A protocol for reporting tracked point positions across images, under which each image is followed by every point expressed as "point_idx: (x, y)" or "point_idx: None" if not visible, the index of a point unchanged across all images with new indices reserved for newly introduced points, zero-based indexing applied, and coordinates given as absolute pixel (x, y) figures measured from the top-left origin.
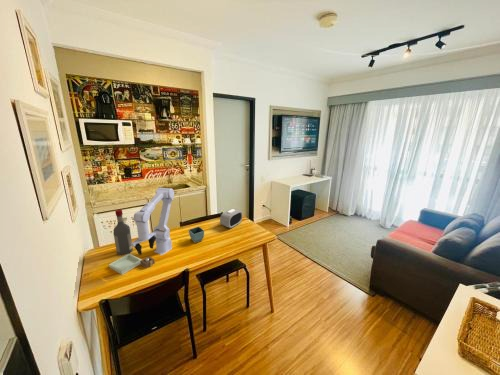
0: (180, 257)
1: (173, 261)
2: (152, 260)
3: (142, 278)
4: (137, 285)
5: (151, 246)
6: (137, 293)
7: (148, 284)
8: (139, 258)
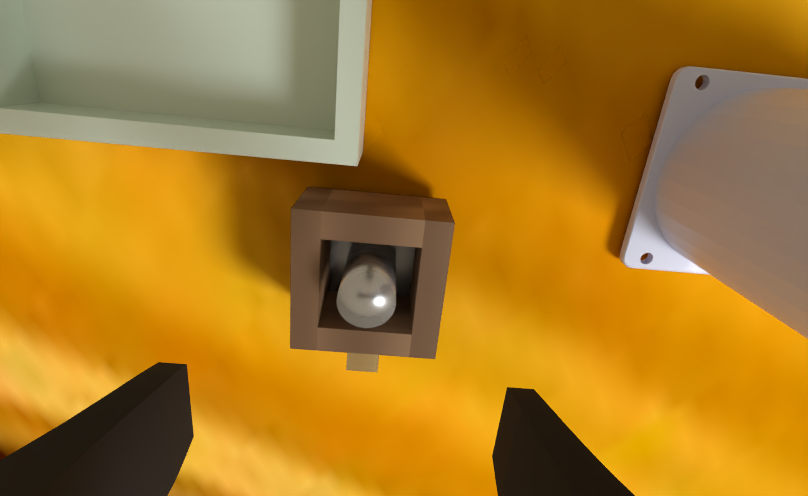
0: (647, 470)
1: None
2: (402, 353)
3: None
4: None
5: (511, 494)
6: None
7: None
8: (360, 92)
